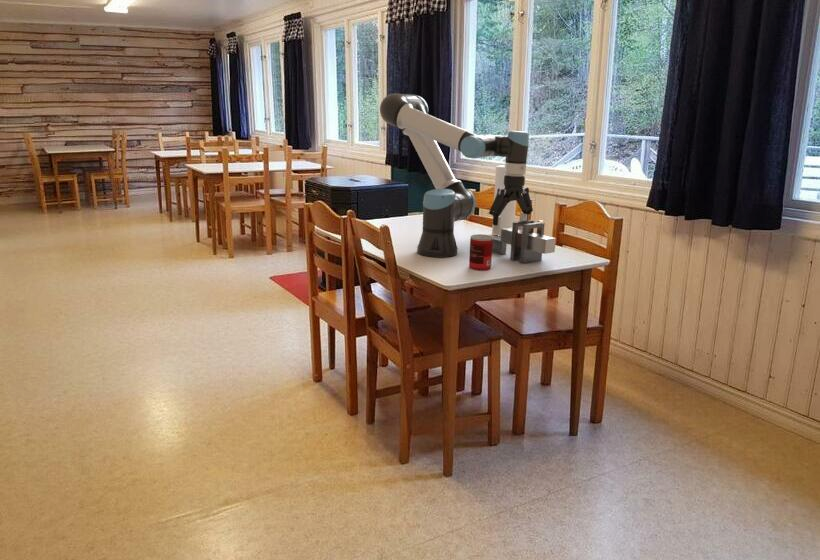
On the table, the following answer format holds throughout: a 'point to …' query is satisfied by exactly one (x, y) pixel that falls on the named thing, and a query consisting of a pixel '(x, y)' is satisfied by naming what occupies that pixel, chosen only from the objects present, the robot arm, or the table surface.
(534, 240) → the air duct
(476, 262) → the canned food
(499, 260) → the table surface
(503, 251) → the stand
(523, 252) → the collar stand
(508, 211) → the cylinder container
